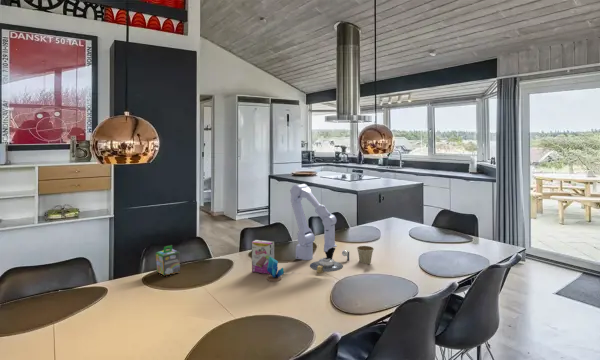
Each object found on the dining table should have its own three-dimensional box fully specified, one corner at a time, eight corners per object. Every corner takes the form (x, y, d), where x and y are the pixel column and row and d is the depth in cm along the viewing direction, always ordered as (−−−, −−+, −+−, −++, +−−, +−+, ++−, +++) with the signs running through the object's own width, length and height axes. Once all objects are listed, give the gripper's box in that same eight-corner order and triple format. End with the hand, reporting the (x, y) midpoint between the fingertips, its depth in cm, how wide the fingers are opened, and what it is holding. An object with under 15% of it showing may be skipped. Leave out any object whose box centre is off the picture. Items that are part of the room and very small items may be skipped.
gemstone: (270, 283, 178) (270, 259, 177) (264, 277, 186) (264, 254, 185) (284, 280, 181) (284, 257, 180) (278, 275, 189) (278, 252, 187)
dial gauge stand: (342, 262, 208) (342, 250, 208) (343, 260, 212) (343, 248, 211) (350, 263, 206) (350, 251, 206) (352, 261, 210) (352, 249, 209)
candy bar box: (251, 272, 193) (250, 241, 191) (255, 269, 198) (255, 239, 196) (271, 274, 189) (270, 243, 188) (275, 271, 194) (274, 241, 192)
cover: (317, 267, 197) (317, 259, 196) (321, 262, 204) (321, 255, 204) (331, 268, 194) (331, 261, 194) (335, 264, 201) (335, 257, 201)
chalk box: (172, 268, 200) (171, 242, 198) (180, 273, 193) (179, 245, 192) (156, 273, 193) (154, 245, 192) (163, 277, 187) (162, 249, 185)
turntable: (303, 271, 192) (302, 265, 191) (316, 259, 211) (316, 254, 210) (336, 276, 185) (336, 269, 185) (346, 263, 204) (346, 257, 204)
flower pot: (373, 266, 201) (373, 250, 200) (356, 265, 203) (356, 250, 202) (373, 261, 210) (373, 246, 209) (357, 260, 212) (357, 245, 211)
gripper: (332, 240, 195) (332, 265, 196) (340, 234, 208) (340, 257, 210) (320, 239, 198) (320, 264, 199) (328, 233, 211) (328, 256, 212)
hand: (329, 260), depth 204 cm, fingers closed
